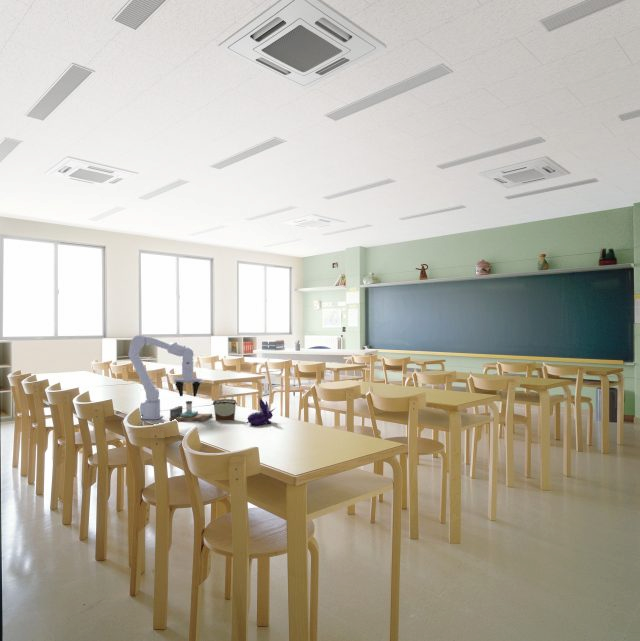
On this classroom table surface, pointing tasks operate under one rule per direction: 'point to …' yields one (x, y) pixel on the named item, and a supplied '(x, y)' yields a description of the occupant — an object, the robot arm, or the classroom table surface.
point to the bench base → (198, 417)
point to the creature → (261, 414)
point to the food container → (225, 409)
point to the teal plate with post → (189, 410)
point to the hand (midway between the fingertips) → (188, 396)
